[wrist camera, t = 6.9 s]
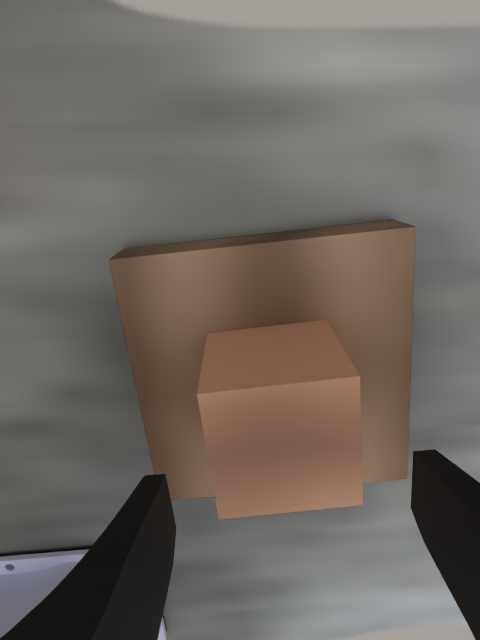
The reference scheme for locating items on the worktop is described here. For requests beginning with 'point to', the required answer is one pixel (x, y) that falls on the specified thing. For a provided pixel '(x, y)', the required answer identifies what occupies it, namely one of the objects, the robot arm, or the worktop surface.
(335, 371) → the terracotta cube
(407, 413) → the walnut block
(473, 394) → the worktop surface
